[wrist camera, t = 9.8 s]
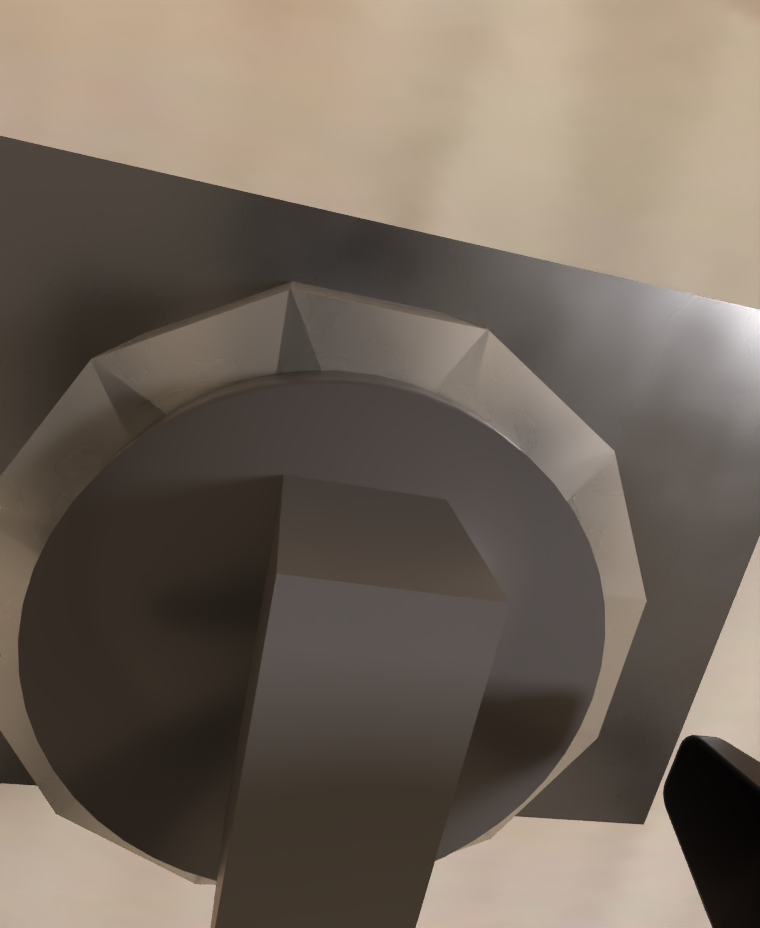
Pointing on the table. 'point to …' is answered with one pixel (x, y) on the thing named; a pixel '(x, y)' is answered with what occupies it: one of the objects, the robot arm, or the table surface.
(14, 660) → the ring on base plate
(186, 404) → the grip bar knob
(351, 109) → the table surface
